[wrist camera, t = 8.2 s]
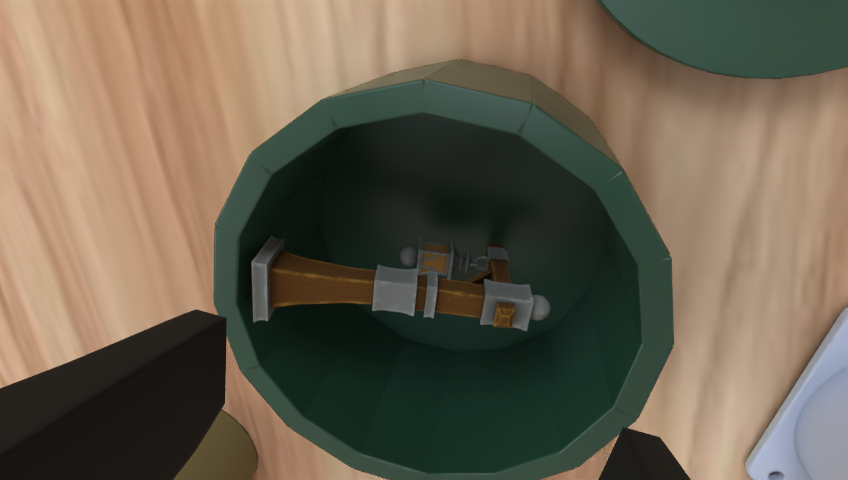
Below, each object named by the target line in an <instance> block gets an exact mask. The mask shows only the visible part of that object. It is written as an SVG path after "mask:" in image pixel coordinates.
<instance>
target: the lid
mask: <svg viewBox="0 0 848 480" xmlns="http://www.w3.org/2000/svg"><path fill="white" fill-rule="evenodd" d="M596 1H597V2H598V3H599V4H600V6H601V7H602V8H603V9H604V10H605V12H606V13H607V14H608V15H609V16H610V17H611V19H612V20H613V21H615V22H616V23H617V24H618V25H619V26H620V27H621V28H623V29H624V30H625V31H626V32H627V33H628V34H629V35H630V36H632V37H633V38H634V39H636V40H637V41H639V42H640V43H642V44H643V45H645V46H647V47H648V48H650V49H651V50H653V51H654V52H656V53H658V54H660V55H662V56H664V57H667V58H669V59H671V60H673V61H676V62H678V63H680V64H682V65H685V66H689V67H692V68H696V69H699V70H703V71H706V72H710V73H714V74H719V75H726V76H733V77H740V78H764V79H780V78H789V77H798V76H807V75H814V74H819V73H823V72H827V71H832V70H836V69H841V68H845V67H848V0H596Z"/></svg>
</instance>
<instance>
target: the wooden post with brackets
mask: <svg viewBox="0 0 848 480" xmlns="http://www.w3.org/2000/svg"><path fill="white" fill-rule="evenodd" d="M479 259H485V268H482V267H479V266H478V265H479V261H478V260H479ZM400 260H401V262H402V263H403V264H404V265H406V266H413V265H415V264H416V269H409V270H406V269H397V268H388V267H384V266H381V265H378V266H377V270H370V269H361V268H352V267H347V266H342V265H337V264H332V263H327V262H322V261H318V260H313V259H308V258H303V257H300V256H297V255H293V254H290V253H287V252H284V239H281V240H280V239H276V238H274V237H273V236H272V235H271V237H270V238H269V239H268V241H267V242H266V243H265V245H264V246H263V247H262V249H261V250H260V251H259V253H258V254H257V255H256V257H255V258H254V259H253V261H252V262H251V266H252V296H253V323H254V322H256V321H257V320H265V321H267V322H268V320H269V318H270V317H271V315H272V313H273V311H274V309H275V307H282V306H289V305H298V304H327V303H357V304H372V305H373V309H372V311H376V310H387V311H395V312H402V313H406V314H409V315H411V316H414V310H420V311H424V317H431V318H434V312H438V313H446V314H454V315H462V316H470V317H478V318H480V325H486V324H492V325H493V327H502V328H512V327H514V328H519V329H522V330H525V331H527V328H528V324H529V319H532V320H542V319H544V318H546V317H547V315H548V314H549V312H550V304H549V302H548V300H547V299H546V298H545V297H544V296H542V295H538V294H536V295H532V293H531V289H530V286H529V285H515V284H511V280H510V275H509V271H508V262H509V258H508V254H507V251H504V248H503V244H497V243H487V249H486V255H485V256H481V257H478V258H476V259H473V258H471V256H470V254H469V252H468V250H466V253H465V257H463V255H462V252H460V253H459V254H458V252H457V250H456V248H455V246H454V243H453V239H450V241H449V245H442V244H436V243H429V242H425V241H423V240H421V238H419V245H418V250H417V249H416V248H414V247H411V246H410V247H405V248H404V249H403V250H402V251H401V253H400ZM472 261H474V263H473V264H472ZM462 266H464V270H465V273H467V272H468V270H469V269H470V267H471V266H475V267H476V268H477V269H480V270H485V271H484V272H482V273H480V274H478V275H476V276H474V277H472V278H470V279H468V280H466V281H465V282H462V281H456V280H451V278H452V276H453V274H454V272H455V271H456V270H457V268H459V270H461V268H462ZM421 274H427V276H424V275H421ZM437 274H443V275H446V276H447V279H443V278H437Z"/></svg>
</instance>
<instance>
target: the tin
mask: <svg viewBox="0 0 848 480" xmlns="http://www.w3.org/2000/svg"><path fill="white" fill-rule="evenodd" d="M215 226H216V227H215V237H214V305H215V308H216V310H217V313H218V315H219V316H222V317H225V318H227V328H226V336H227V338H228V341H229V343H230V346H231V348H232V351H233V354H234V356H235V359H236V361H237V364H238V366H239V369H240V370H241V372H242V374H243V375H244V376H245V377H246V378H247V379H248V381H249V382H250V383H251V384H252V385H253V386H254V388H255V389H256V390H257V391H258V392H259V393H260V395H261V396H262V397H263V398H264V399H265V400H266V402H267V403H268V404H269V405H270V406H271V407H272V409H273V410H274V411H275V412H276V413H277V415H278V416H279V417H280V418H281V419H282V420H283V422H284V423H285V424H286V425H287V426H288V427H290V428H291V429H292V430H293V431H295V432H296V433H298V434H300V435H301V436H303V437H304V438H306V439H307V440H309V441H311V442H312V443H314V444H315V445H317V446H318V447H320V448H321V449H323V450H325V451H326V452H328V453H329V454H331V455H332V456H334V457H335V458H337V459H339V460H340V461H342V462H343V463H345V464H346V465H348V466H349V467H351V468H353V467H354V469H355V470H359V471H362V472H365V473H369V474H372V475H375V476H379V477H382V478H385V479H389V480H540V479H543V478H547V477H550V476H553V475H556V474H559V473H562V472H565V471H569V470H572V469H574V468H575V467H579V466H580V465H582V464H583V463H584V462H585V461H587V460H588V459H589V458H590V457H592V456H593V455H594V454H595V453H597V452H598V451H599V450H600V449H601V448H603V447H604V446H605V445H606V444H608V443H609V442H610V441H611V440H613V439H614V438H615V437H616V436H618V435H619V434H620V433H621V431H622V428H623V427H624V428H628V427H629V426H630V425H631V424H633V423H634V422H635V421H636V420H637V418H638V417H639V416H640V414H641V412H642V410H643V408H644V406H645V404H646V401H647V399H648V397H649V395H650V393H651V391H652V389H653V387H654V385H655V383H656V381H657V379H658V377H659V375H660V373H661V371H662V369H663V367H664V365H665V363H666V361H667V359H668V357H669V355H670V352H671V350H672V348H673V345H674V324H673V289H672V259H671V257H670V253H669V251H668V249H667V247H666V245H665V244H664V242H663V240H662V238H661V236H660V234H659V233H658V231H657V229H656V227H655V225H654V224H653V222H652V220H651V218H650V216H649V215H648V213H647V211H646V209H645V207H644V205H643V204H642V202H641V200H640V198H639V196H638V195H637V193H636V191H635V189H634V187H633V185H632V184H631V182H630V180H629V178H628V176H627V175H626V173H625V171H624V169H623V168H622V166H621V165H620V163H619V162H618V160H617V159H616V157H615V156H614V154H613V152H612V151H611V149H610V148H609V146H608V145H607V143H606V142H605V140H604V139H603V137H602V135H601V134H600V132H599V131H598V129H597V128H596V126H595V125H594V123H593V121H592V120H590V118H589V117H588V116H587V115H585V114H584V113H583V112H581V111H580V110H579V109H577V108H576V107H574V106H573V105H572V104H571V103H569V102H568V101H567V100H566V99H565V98H564V97H562V96H561V95H560V94H558V93H557V92H555V91H554V90H552V89H550V88H549V87H547V86H546V85H545V84H543V83H542V82H540V81H539V80H538V79H536V78H535V77H534V76H531V75H530V74H525V73H521V72H516V71H512V70H509V69H505V68H502V67H499V66H494V65H487V64H481V63H475V62H470V61H466V60H453V61H448V62H443V63H438V64H432V65H426V66H422V67H418V68H413V69H408V70H404V71H399V72H394V73H390V74H388V75H385V76H382V77H380V78H377V79H374V80H372V81H369V82H366V83H364V84H361V85H359V86H356V87H353V88H351V89H348V90H345V91H343V92H340V93H337V94H335V95H332V96H329V97H327V98H324V99H322V100H320V101H319V102H317V103H316V104H315V105H313V106H312V107H311V108H309V109H308V110H307V111H305V112H304V113H303V114H301V115H300V116H299V117H297V118H296V119H295V120H293V121H292V122H291V123H289V124H288V125H287V126H285V127H284V128H283V129H281V130H280V131H279V132H277V133H276V134H275V135H273V136H272V137H271V138H269V139H268V140H267V141H265V142H264V143H263V144H261V145H260V146H259V147H257V148H256V149H255V150H253V151H252V152H251V154H250V155H249V156H248V158H247V160H246V162H245V164H244V166H243V168H242V170H241V172H240V175H239V177H238V179H237V181H236V183H235V185H234V187H233V189H232V191H231V193H230V195H229V197H228V199H227V201H226V203H225V205H224V207H223V209H222V211H221V213H220V215H219V217H218V219H217V221H216V223H215ZM271 235H272V236H273V237H274V238H276V239H280V240H281V239H284V252H287V253H290V254H293V255H297V256H300V257H303V258H308V259H313V260H318V261H322V262H327V263H332V264H337V265H342V266H347V267H352V268H361V269H370V270H377V266H378V265H381V266H384V267H388V268H397V269H406V270H409V269H416V264H415V265H413V266H406V265H404V264H403V263H402V262H401V260H400V253H401V251H402V250H403V249H404V248H405V247H410V246H411V247H414V248H416V249H417V250H418V245H419V238H421V240H423V241H425V242H429V243H436V244H442V245H449V241H450V239H453V243H454V246H455V248H456V250H457V252H458V254H459V253H460V252H462V255H463V257H465V253H466V250H468V252H469V254H470V256H471V258H473V259H476V258H478V257H481V256H485V255H486V249H487V243H497V244H503V248H504V251H507V254H508V258H509V262H508V271H509V275H510V280H511V284H515V285H529V286H530V289H531V293H532V295H536V294H538V295H542V296H544V297H545V298H546V299H547V300H548V302H549V304H550V312H549V314H548V315H547V317H546V318H544V319H542V320H532V319H529V324H528V328H527V331H525V330H522V329H519V328H514V327H512V328H502V327H493V325H492V324H486V325H480V318H478V317H470V316H462V315H454V314H446V313H438V312H434V318H431V317H424V311H420V310H414V316H411V315H409V314H406V313H402V312H395V311H387V310H376V311H372V309H373V305H372V304H357V303H327V304H298V305H289V306H282V307H275V309H274V311H273V313H272V315H271V317H270V318H269V320H268V322H267V321H265V320H257V321H256V322H254V323H253V296H252V266H251V262H252V261H253V259H254V258H255V257H256V255H257V254H258V253H259V251H260V250H261V249H262V247H263V246H264V245H265V243H266V242H267V241H268V239H269V238H270V237H271ZM478 261H479V265H478V266H479V267H482V268H485V259H479V260H478ZM473 263H474V261H472V264H473ZM484 271H485V270H480V269H477V268H476V267H475V266H471V267H470V269H469V270H468V272H467V273H465V270H464V266H462V268H461V270H459V268H457V270H456V271H455V272H454V274H453V276H452V278H451V280H456V281H462V282H465V281H466V280H468V279H470V278H472V277H474V276H476V275H478V274H480V273H482V272H484ZM421 275H424V276H427V274H421ZM437 278H443V279H447V276H446V275H443V274H437Z"/></svg>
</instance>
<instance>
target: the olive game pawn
mask: <svg viewBox="0 0 848 480" xmlns="http://www.w3.org/2000/svg"><path fill="white" fill-rule="evenodd" d="M256 469H257V453H256V451H255V448H254V445H253V442H252V440H251V439H250V437H249V436H248V434H247V433H246V432H245V430H244V429H243V428H242V426H241V425H240V424H239V423H237V422H236V421H235V420H234V419H233V418H232V417H230V416H229V415H228V414H227V413H225V412H223V411H222V410H221V411H220V412H219V414H218V416H217V417H216V419H215V420H214V422H213V424H212V425H211V427H210V429H209V430H208V432H207V434H206V435H205V437H204V438H203V440H202V441H201V443H200V445H199V446H198V448H197V449H196V451H195V452H194V454H193V455H192V456H191V458H190V459H189V460H188V461H187V463H186V464H185V465H184V467H183V468H182V469H181V470H180V472H179V473H178V474H177V475H176V477H175V478H174V479H173V480H251V479H252V477H253V475H254V473H255V471H256Z"/></svg>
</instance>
